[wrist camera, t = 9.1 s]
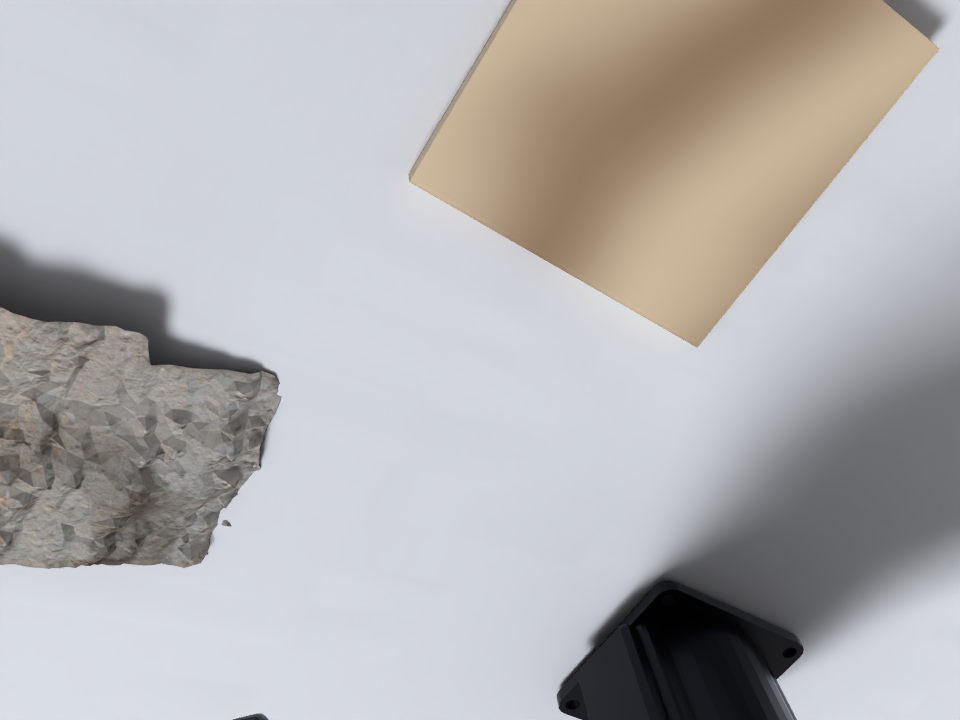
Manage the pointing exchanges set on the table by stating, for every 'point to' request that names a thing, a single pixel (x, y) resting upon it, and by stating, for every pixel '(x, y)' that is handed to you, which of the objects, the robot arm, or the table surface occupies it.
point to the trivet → (666, 136)
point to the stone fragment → (117, 447)
